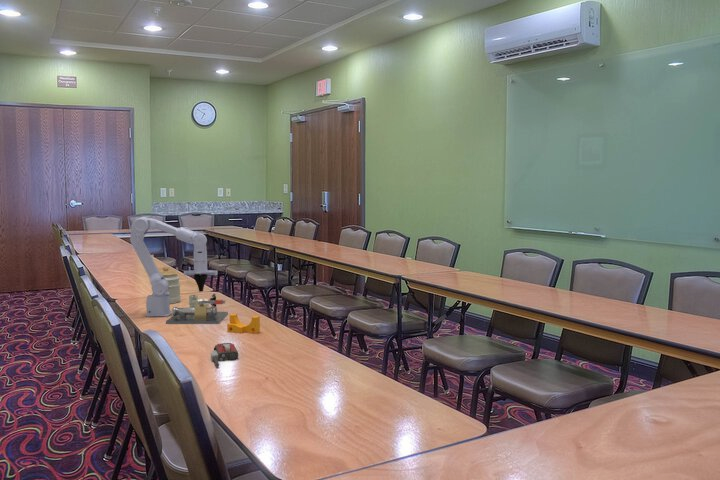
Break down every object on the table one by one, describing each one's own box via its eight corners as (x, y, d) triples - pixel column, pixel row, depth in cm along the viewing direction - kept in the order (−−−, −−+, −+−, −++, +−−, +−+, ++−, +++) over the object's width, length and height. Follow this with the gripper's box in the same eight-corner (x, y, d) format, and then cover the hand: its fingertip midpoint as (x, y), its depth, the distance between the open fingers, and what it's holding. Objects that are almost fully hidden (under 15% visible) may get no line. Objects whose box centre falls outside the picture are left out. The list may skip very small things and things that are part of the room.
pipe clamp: (227, 332, 233) (227, 316, 232) (233, 329, 237) (233, 313, 236) (254, 335, 229) (254, 318, 228) (259, 332, 233) (259, 316, 232)
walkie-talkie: (208, 352, 206) (214, 369, 188) (207, 340, 206) (213, 356, 187) (233, 350, 209) (242, 366, 191) (233, 337, 209) (241, 353, 190)
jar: (185, 301, 290) (184, 266, 288) (161, 305, 281) (160, 268, 279) (172, 298, 299) (171, 263, 297) (147, 301, 290) (146, 266, 288)
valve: (190, 311, 269) (216, 309, 274) (189, 297, 268) (216, 295, 273) (187, 308, 275) (214, 306, 280) (187, 294, 274) (213, 292, 279)
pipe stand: (165, 323, 245) (165, 309, 245) (178, 314, 263) (177, 300, 263) (219, 323, 246) (218, 309, 245) (227, 313, 264) (227, 300, 263)
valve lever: (199, 305, 252) (199, 300, 252) (200, 304, 254) (200, 299, 254) (224, 305, 252) (224, 300, 252) (225, 304, 254) (225, 299, 254)
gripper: (181, 262, 259) (182, 292, 260) (214, 262, 259) (215, 292, 261) (185, 260, 266) (186, 289, 267) (218, 260, 266) (219, 289, 268)
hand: (201, 291), depth 265 cm, fingers closed
